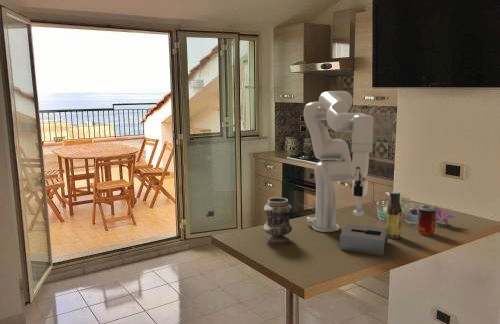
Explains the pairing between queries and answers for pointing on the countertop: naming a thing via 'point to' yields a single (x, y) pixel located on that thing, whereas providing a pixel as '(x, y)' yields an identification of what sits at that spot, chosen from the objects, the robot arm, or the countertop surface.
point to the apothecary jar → (277, 220)
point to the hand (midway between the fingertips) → (359, 193)
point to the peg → (359, 198)
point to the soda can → (426, 220)
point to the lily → (443, 215)
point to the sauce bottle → (394, 216)
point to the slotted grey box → (364, 239)
